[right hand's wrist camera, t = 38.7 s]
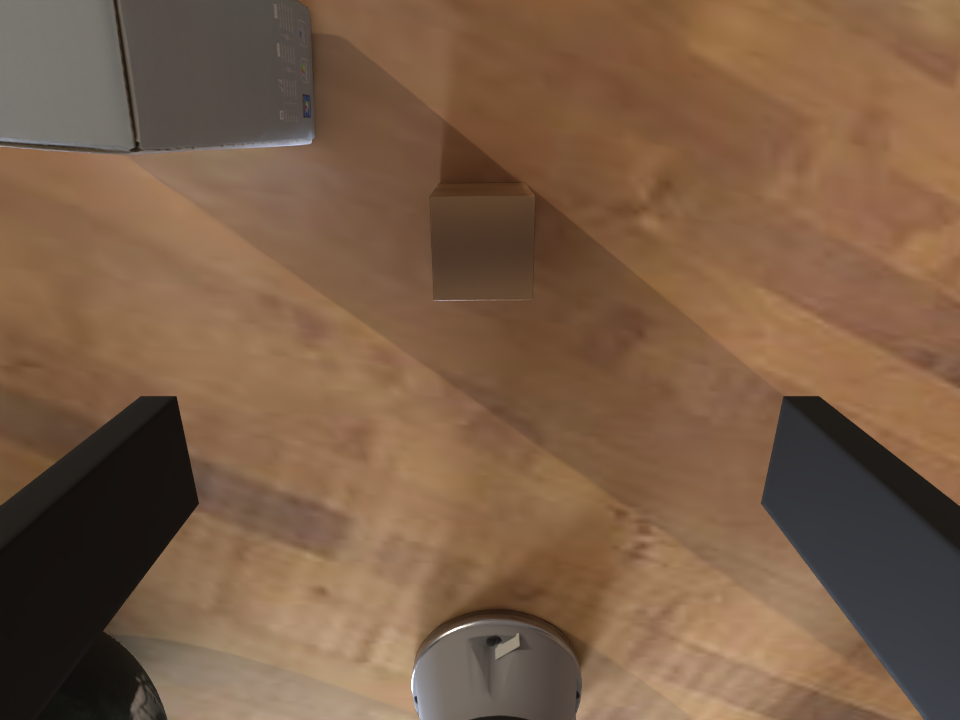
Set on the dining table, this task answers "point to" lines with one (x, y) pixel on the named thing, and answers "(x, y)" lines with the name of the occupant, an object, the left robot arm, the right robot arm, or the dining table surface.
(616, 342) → the dining table surface
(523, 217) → the block
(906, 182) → the dining table surface
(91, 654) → the sphere
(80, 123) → the hard drive box
